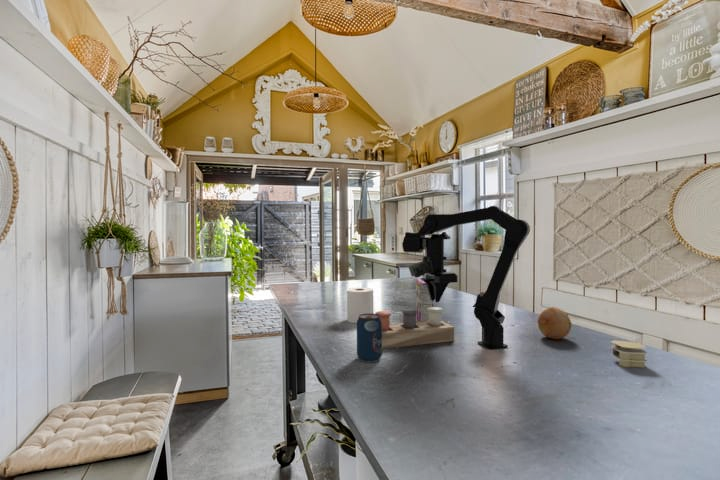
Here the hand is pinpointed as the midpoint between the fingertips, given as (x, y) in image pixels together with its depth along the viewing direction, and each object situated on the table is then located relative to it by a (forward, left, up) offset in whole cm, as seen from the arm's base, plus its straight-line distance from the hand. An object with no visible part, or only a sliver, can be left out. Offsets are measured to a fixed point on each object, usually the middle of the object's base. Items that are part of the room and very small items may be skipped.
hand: (434, 301), depth 127 cm
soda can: (-12, +26, -12) cm, 32 cm away
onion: (-13, -36, -12) cm, 40 cm away
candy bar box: (+15, -4, -12) cm, 20 cm away
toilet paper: (+30, +16, -12) cm, 36 cm away
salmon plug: (0, +18, -8) cm, 20 cm away
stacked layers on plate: (-37, -37, -13) cm, 54 cm away
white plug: (0, 0, -8) cm, 8 cm away
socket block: (0, +9, -12) cm, 15 cm away
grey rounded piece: (0, +9, -8) cm, 12 cm away
